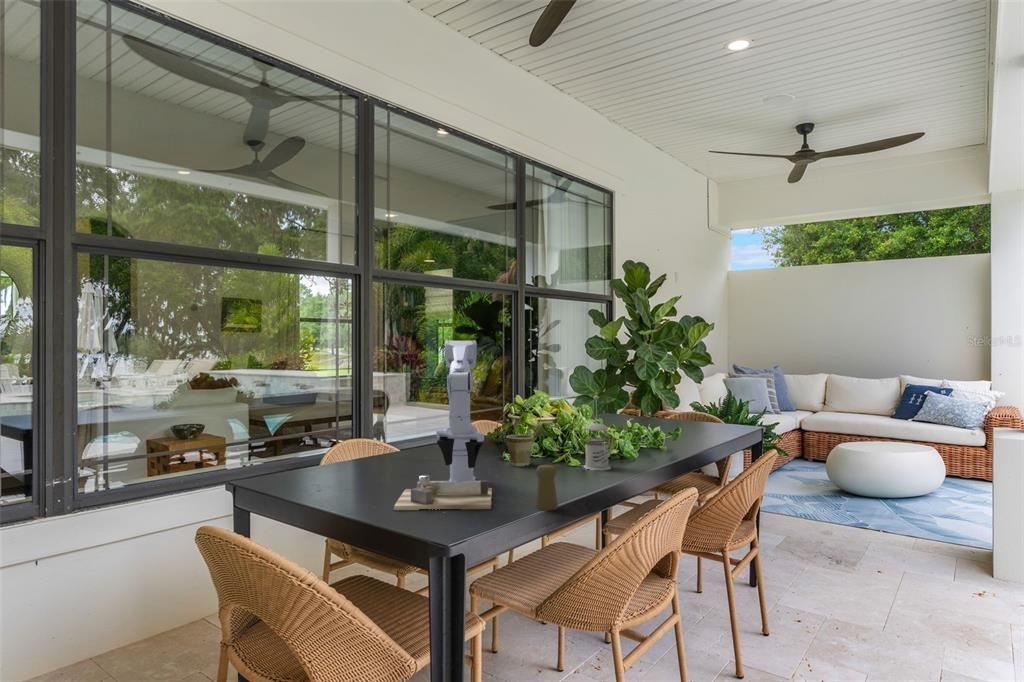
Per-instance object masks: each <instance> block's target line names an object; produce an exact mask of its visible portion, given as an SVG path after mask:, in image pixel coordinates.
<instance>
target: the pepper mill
mask: <svg viewBox="0 0 1024 682" xmlns="http://www.w3.org/2000/svg"><path fill="white" fill-rule="evenodd" d="M535 473H536V477H537V478H538V479H537V488H536V495H535V502H534V503H535V505H534V508H535V509H536V508H537V509H536V510H538V509H540V510H539V511H554V510H555V511H556V510H558V509H559V505H558V498H557V491H556V484H555V478H556V475H557V468H556V467H555V465H550V464H542V465H538V466H537V468H536V469H535Z"/></svg>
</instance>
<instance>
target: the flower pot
mask: <svg viewBox="0 0 1024 682" xmlns="http://www.w3.org/2000/svg"><path fill="white" fill-rule="evenodd" d="M505 440H506V446H507V449H508V452H509V453H508V455H509V460H510V461H509V462H510V464H511V466H513V465H514V467H526V466H525V465H527V466H530V462H531V460H530V459H531V454H532V449H533V446H534V440H535V436H534V435H531V434H523V433H522V434H520V433H519V434H510V435H509V434H508V435H506V436H505Z"/></svg>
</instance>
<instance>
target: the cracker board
mask: <svg viewBox="0 0 1024 682" xmlns="http://www.w3.org/2000/svg"><path fill="white" fill-rule="evenodd" d="M411 489H412V488H405V489H404V491H403V492H402V493H401V495H400V496H399V497H398V498H397V501H396V502H395V504H394V505H393V510H394V511H420V510H419V509H429V510H428V511H440V509H461V510H491V509H492V500H493V499H492V497H493V496H492V495H493V487H488V494H437V495H436V497H435V498H434V499H433V503H431V504H427V505H425V504H421V503H417V502H412V501H411ZM491 499H492V500H491ZM430 509H432V510H430ZM433 509H435V510H433ZM437 509H439V510H437Z"/></svg>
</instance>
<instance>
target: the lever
mask: <svg viewBox="0 0 1024 682" xmlns="http://www.w3.org/2000/svg"><path fill="white" fill-rule="evenodd" d="M430 477H431V476H430V475H429V474H422V475H419V478H418V479H419V480H418V481H417V482H416V488H417V487H418V488H423V489H425V488H426V487H428V486H433V487H434V488H435V489H436V491H437V494H488V488H489V480H488V479H486V480H485V479H484V480H483V479H481V480H475V481H449V480H431V479H430Z"/></svg>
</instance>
